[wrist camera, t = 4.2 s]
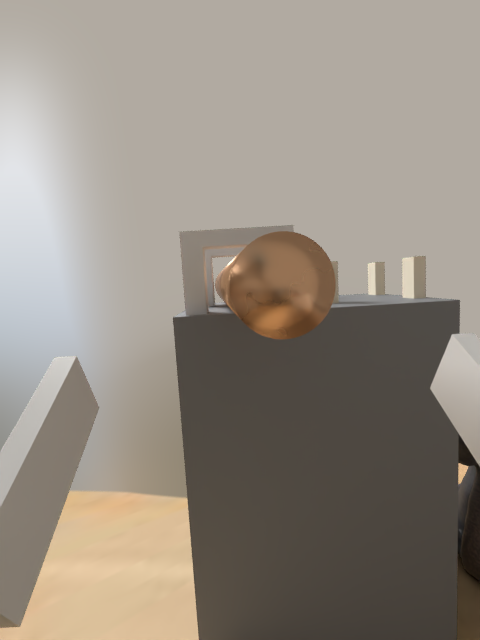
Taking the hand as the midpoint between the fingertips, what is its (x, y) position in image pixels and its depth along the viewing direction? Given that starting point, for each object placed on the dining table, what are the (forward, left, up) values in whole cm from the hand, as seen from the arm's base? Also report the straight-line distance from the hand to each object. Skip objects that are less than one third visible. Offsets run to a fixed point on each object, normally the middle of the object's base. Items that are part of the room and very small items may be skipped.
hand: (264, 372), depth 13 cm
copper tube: (-1, +13, +1) cm, 14 cm away
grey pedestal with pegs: (+5, +21, -27) cm, 34 cm away
